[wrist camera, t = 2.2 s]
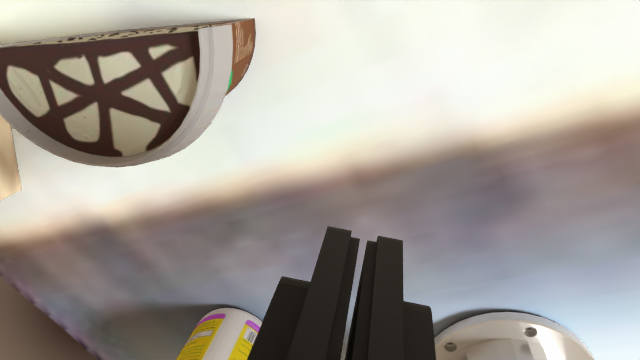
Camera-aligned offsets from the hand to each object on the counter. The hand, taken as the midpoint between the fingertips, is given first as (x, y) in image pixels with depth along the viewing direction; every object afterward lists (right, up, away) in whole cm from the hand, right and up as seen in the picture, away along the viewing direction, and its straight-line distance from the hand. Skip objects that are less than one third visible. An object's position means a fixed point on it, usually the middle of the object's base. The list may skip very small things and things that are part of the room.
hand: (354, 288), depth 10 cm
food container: (-9, +9, +18) cm, 23 cm away
